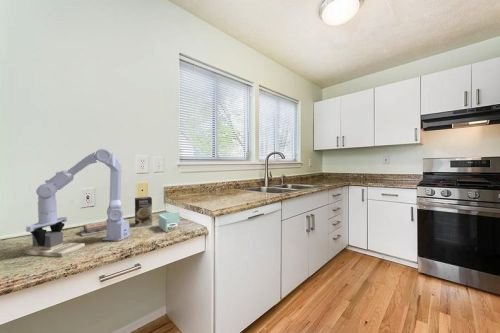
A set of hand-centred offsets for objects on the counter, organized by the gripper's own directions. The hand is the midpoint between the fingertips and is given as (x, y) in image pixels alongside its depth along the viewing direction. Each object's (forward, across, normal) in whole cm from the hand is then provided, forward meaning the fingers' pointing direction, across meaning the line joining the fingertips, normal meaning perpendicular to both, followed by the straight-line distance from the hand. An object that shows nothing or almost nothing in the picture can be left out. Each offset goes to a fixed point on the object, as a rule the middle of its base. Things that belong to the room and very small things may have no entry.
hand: (48, 242), depth 92 cm
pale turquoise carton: (+4, -37, +37) cm, 53 cm away
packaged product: (+4, -26, +1) cm, 26 cm away
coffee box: (+3, -39, +18) cm, 43 cm away
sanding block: (+2, 0, 0) cm, 2 cm away
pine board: (+3, 0, +4) cm, 5 cm away
